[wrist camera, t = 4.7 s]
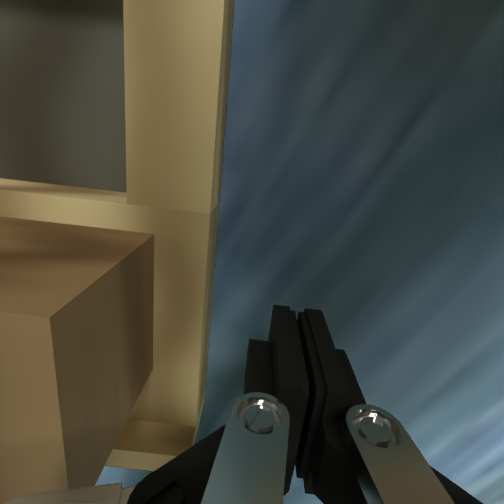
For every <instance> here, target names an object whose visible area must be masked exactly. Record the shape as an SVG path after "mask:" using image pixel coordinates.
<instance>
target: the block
mask: <svg viewBox="0 0 504 504" xmlns="http://www.w3.org/2000/svg"><path fill="white" fill-rule="evenodd" d="M153 319H154V234H150V233H142V232H133V231H124V230H115V229H107V228H98V227H89V226H80V225H72V224H63V223H54V222H45V221H36V220H28V219H19V218H10V217H1V216H0V504H6V503H7V502H9V501H11V500H12V499H14V498H18V497H21V496H25V495H29V494H36V493H44V492H52V491H60V490H68V489H76V488H83V487H91V486H95V484H96V482H97V480H98V478H99V476H100V474H101V472H102V470H103V468H104V466H105V464H106V462H107V460H108V458H109V456H110V454H111V452H112V450H113V448H114V446H115V444H116V442H117V440H118V438H119V436H120V434H121V432H122V429H123V427H124V425H125V423H126V421H127V419H128V417H129V415H130V413H131V411H132V409H133V407H134V405H135V403H136V401H137V399H138V397H139V395H140V393H141V391H142V389H143V387H144V385H145V383H146V381H147V379H148V377H149V375H150V373H151V371H152V369H153Z"/></svg>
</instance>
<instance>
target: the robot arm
mask: <svg viewBox="0 0 504 504" xmlns="http://www.w3.org/2000/svg"><path fill="white" fill-rule="evenodd" d="M295 465H296V474H297V478H303V480H304V489H305V493H308V494H315V495H316V496H317V497H318V498H319V499H320V500H321V501H322V502H323V503H324V504H483V503H481V502H480V501H479V500H477V499H476V498H474V497H473V496H472V495H470V494H469V493H467V492H466V491H465V490H463V489H462V488H460V487H459V486H458V485H456V484H455V483H453V482H452V481H451V480H449V479H448V478H446V477H445V476H444V475H442V474H441V473H439V472H438V471H437V470H435V469H434V468H432V467H431V466H430V465H429V464H428V463H427V461H426V460H425V458H424V457H423V455H422V454H421V452H420V451H419V449H418V448H417V446H416V445H415V443H414V442H413V440H412V439H411V437H410V436H409V434H408V433H407V431H406V430H405V428H404V427H403V426H402V424H401V423H400V422H399V421H398V420H397V419H396V418H395V417H394V416H393V415H391V414H390V413H389V412H387V411H385V410H383V409H381V408H379V407H376V406H373V405H367V404H366V402H365V399H364V397H363V394H362V392H361V390H360V387H359V385H358V382H357V380H356V377H355V375H354V372H353V370H352V367H351V365H350V362H349V360H348V357H347V355H346V353H345V351H344V350H341V349H335V346H334V343H333V341H332V338H331V335H330V332H329V330H328V327H327V324H326V321H325V318H324V316H323V313H322V311H321V310H315V309H306V308H305V310H304V312H299V314H298V319H296V314H295V311H290V307H289V306H280V305H274V306H273V311H272V318H271V325H270V332H269V339H268V341H261V340H252V339H249V345H248V353H247V362H246V371H245V381H244V393H243V395H242V396H240V397H239V398H238V399H237V400H236V401H235V402H234V404H233V406H232V408H231V411H230V414H229V417H228V420H227V423H226V425H224V426H222V427H221V428H219V429H218V430H216V431H215V432H213V433H212V434H210V435H209V436H207V437H206V438H204V439H203V440H201V441H200V442H198V443H196V444H195V445H193V446H192V447H190V448H189V449H187V450H186V451H184V452H183V453H181V454H180V455H178V456H177V457H175V458H173V459H172V460H170V461H169V462H167V463H166V464H164V465H163V466H161V467H160V468H158V469H157V470H155V471H154V472H152V473H151V474H149V475H147V476H146V477H145V478H144V479H143V480H142V481H140V482H139V483H138V484H137V485H136V486H135V487H127V488H122V483H115V484H107V485H99V486H91V487H83V488H76V489H68V490H60V491H52V492H44V493H36V494H29V495H25V496H21V497H18V498H14V499H12V500H11V501H9V502H7V503H6V504H283V496H284V495H285V494H286V493H287V492H288V491H289V488H290V483H291V479H292V475H293V470H294V466H295Z"/></svg>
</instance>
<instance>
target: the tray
mask: <svg viewBox="0 0 504 504" xmlns="http://www.w3.org/2000/svg"><path fill="white" fill-rule="evenodd" d="M234 2H235V0H0V216H1V217H10V218H19V219H28V220H36V221H45V222H54V223H63V224H72V225H80V226H89V227H98V228H107V229H115V230H124V231H133V232H142V233H150V234H154V319H153V369H152V371H151V373H150V375H149V377H148V379H147V381H146V383H145V385H144V387H143V389H142V391H141V393H140V395H139V397H138V399H137V401H136V403H135V405H134V407H133V409H132V411H131V413H130V415H129V417H128V419H127V421H126V423H125V425H124V427H123V429H122V432H121V434H120V436H119V438H118V440H117V442H116V444H115V446H114V448H113V450H112V452H111V454H110V456H109V458H108V460H107V462H106V464H105V466H112V467H121V468H130V469H139V470H148V471H155V470H157V469H158V468H160V467H161V466H163V465H164V464H166V463H167V462H169V461H170V460H172V459H173V458H175V457H177V456H178V455H180V454H181V453H183V452H184V451H186V450H187V449H189V448H190V447H192V446H193V445H194V444H195V440H196V435H197V431H198V427H199V423H200V418H201V414H202V410H203V405H204V398H205V385H206V371H207V358H208V345H209V332H210V319H211V305H212V292H213V279H214V266H215V253H216V239H217V226H218V213H219V200H220V187H221V173H222V160H223V147H224V134H225V121H226V108H227V94H228V81H229V68H230V55H231V42H232V28H233V15H234Z"/></svg>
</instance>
